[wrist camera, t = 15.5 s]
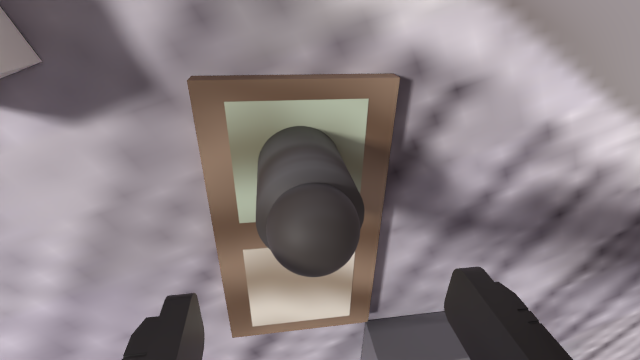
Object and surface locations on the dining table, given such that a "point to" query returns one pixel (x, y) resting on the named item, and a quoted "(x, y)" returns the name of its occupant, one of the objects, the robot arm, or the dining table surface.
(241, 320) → the board
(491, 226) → the dining table surface
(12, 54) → the die
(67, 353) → the dining table surface
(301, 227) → the pawn
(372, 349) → the dome collar
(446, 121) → the dining table surface
